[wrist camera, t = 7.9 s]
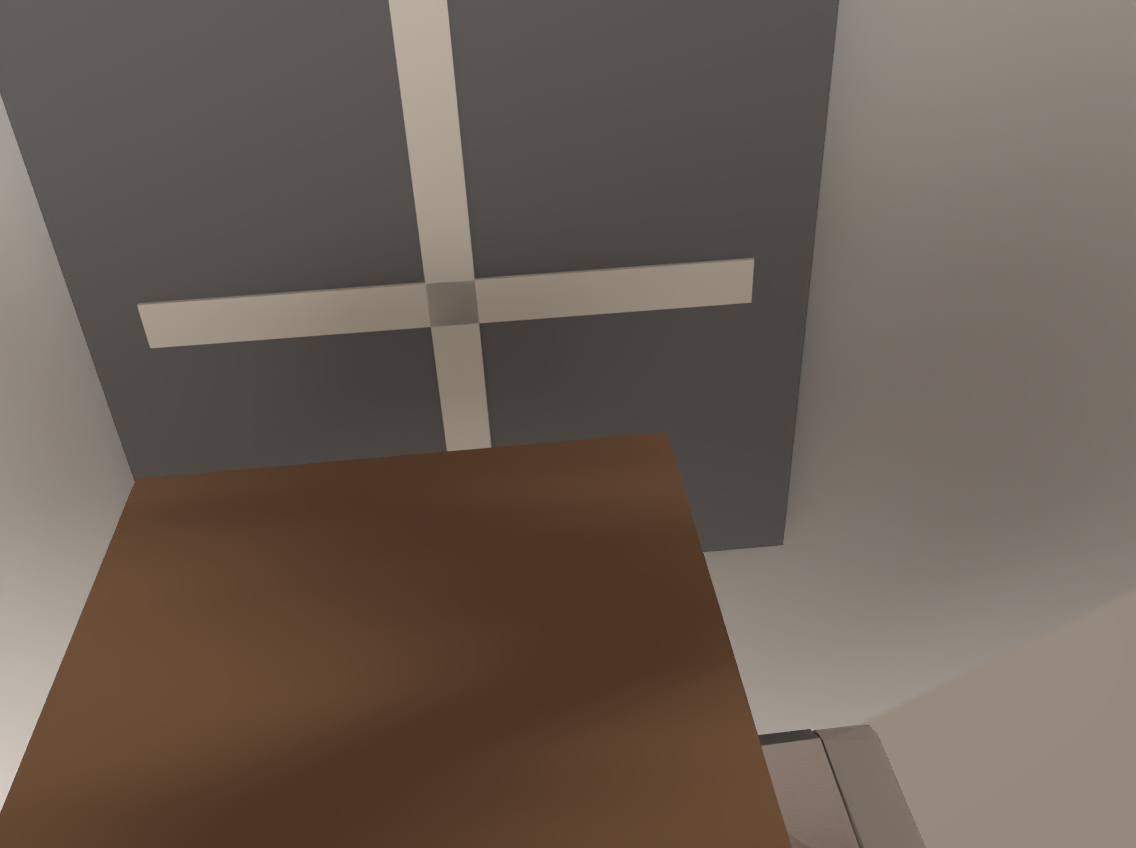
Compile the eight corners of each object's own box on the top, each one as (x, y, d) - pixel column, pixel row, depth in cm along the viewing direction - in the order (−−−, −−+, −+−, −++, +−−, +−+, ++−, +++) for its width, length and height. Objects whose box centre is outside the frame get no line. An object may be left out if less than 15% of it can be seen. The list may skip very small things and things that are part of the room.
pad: (842, -130, 15) (853, -124, 14) (778, 532, 21) (783, 547, 21) (-46, -79, 14) (-60, -73, 14) (179, 583, 21) (174, 600, 20)
